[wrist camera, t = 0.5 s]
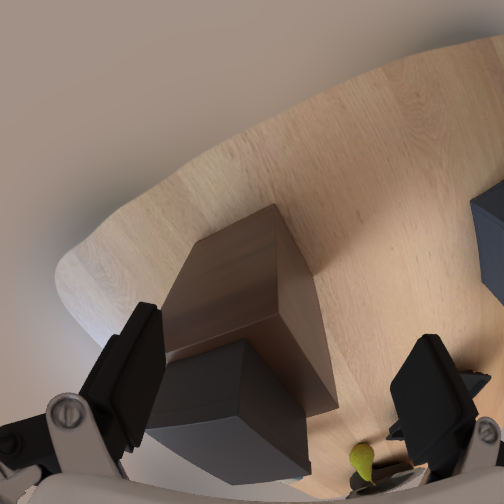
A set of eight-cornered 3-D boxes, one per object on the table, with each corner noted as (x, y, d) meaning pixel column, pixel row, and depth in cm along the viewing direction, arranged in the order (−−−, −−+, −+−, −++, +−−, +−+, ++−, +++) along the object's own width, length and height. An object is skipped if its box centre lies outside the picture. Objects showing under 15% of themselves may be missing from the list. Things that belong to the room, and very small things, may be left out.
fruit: (342, 448, 54) (348, 491, 43) (361, 437, 52) (368, 483, 41) (359, 450, 55) (365, 492, 44) (377, 440, 53) (385, 483, 42)
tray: (474, 404, 48) (481, 419, 43) (390, 443, 54) (394, 460, 49) (484, 328, 37) (498, 347, 32) (367, 386, 43) (373, 410, 38)
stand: (194, 243, 33) (134, 362, 17) (274, 202, 30) (278, 312, 14) (238, 308, 37) (219, 436, 20) (313, 277, 34) (339, 408, 18)
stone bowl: (327, 474, 62) (332, 501, 53) (412, 437, 56) (422, 464, 48) (355, 489, 70) (359, 510, 61) (423, 459, 64) (431, 480, 56)
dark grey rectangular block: (164, 362, 16) (140, 429, 12) (246, 335, 15) (237, 415, 11) (237, 429, 20) (231, 485, 15) (307, 413, 18) (311, 474, 14)
